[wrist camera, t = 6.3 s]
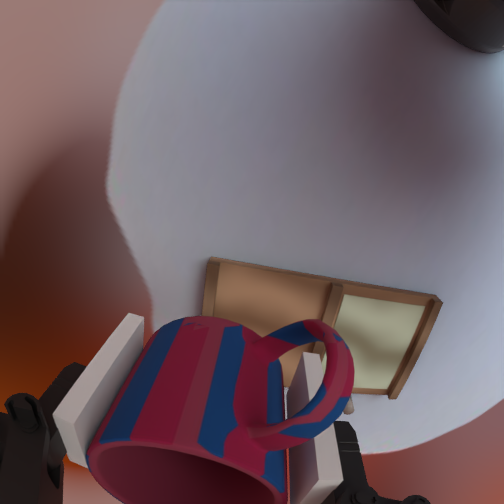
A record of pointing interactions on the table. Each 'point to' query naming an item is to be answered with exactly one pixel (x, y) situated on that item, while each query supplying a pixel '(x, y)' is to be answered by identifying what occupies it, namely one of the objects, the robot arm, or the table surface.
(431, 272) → the table surface
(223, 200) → the table surface
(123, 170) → the table surface
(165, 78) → the table surface
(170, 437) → the mug
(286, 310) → the brown divided flat frame
